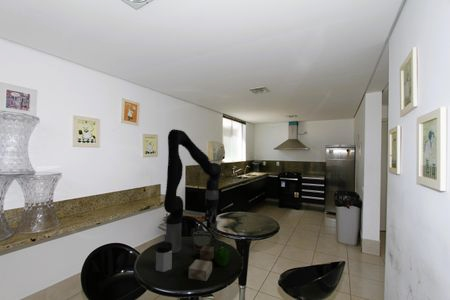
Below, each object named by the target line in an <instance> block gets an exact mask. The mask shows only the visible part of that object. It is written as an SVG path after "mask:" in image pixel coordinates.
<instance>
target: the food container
mask: <svg viewBox="0 0 450 300" xmlns="http://www.w3.org/2000/svg"><path fill="white" fill-rule="evenodd" d="M192 237H193V248H194V250H199V251H200V250H201V249H202V247H203V246H210V247H211V238H212V232H210V231H209V230H197V231H194V232H193V233H192Z"/></svg>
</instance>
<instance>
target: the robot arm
mask: <svg viewBox="0 0 450 300" xmlns="http://www.w3.org/2000/svg"><path fill="white" fill-rule="evenodd" d="M179 146H182V147H183V148H185V149H186V150H187V151H188V154H189V155H190V157H191V158H192V159H193V160H194V162H196V163H197V164H198V165H199V167H200V168H201V170H202V171H203V173H205V174H206V175H208V176H209V177H208V179H207V180H206V183H205V184H206V186H205V198H204V200H205V201H204V203H205V204H204V205H205V206H206V208H207V209H206V210H205V211H204V212H205V213H204V222H206V229H211V228H212V227H211V226H212V224H213V225H214V224H216V222H217V221H216V219H217V216H218V206H219V195H220V193H219V183H220V182H219V181H220V179H221V178H220V177H221V172H222V168H221V165H220V164H219V163H217V162H214V163H213V162H211V161H210V158H209V156H208V155H207V154H206V153H205V152H203V151H202V150H201V149H200V148H199V147H198V146H197V145H196V144H195V143H194V142H193V140H192V139H191V138H190V137H189V135H188V134H187V133H186V132H185V131H183V130H181V129H175V128H174V129H170V131H169V132H168V133H167V149H168V151H167V153H168V156H167V173H166V174H167V176H166V187H165V188H166V189H165V195H164V201H163V206H164V207H163V208H164V211H165V212H166V213H167V214H169V215H168V216H167V217H166V219H165V220H166V222H165V223H166V225H165V227H166V228H165V229H166V230H165V231H166V232H165V235H164V242H170V243H172V254H177V253H179V252H180V251H181V250H182V219H183V217H184V201H183V198H182V197H181V196H180V195H177V193H178V192H177V191H178V187H179V185H180V183H181V181H182V178H183V168H184V166H183V161H182V159H181V156H180V152H179V150H180V149H179V148H180V147H179Z"/></svg>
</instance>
